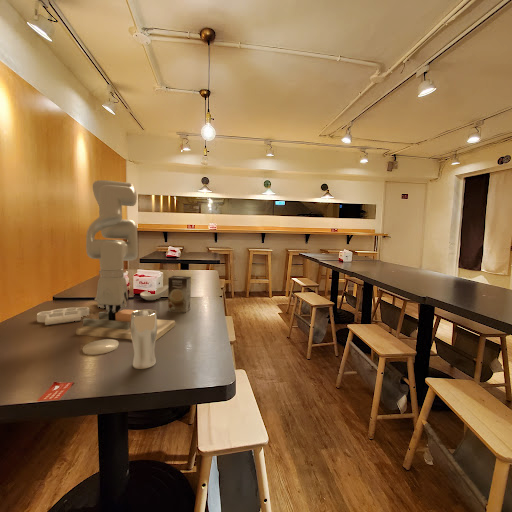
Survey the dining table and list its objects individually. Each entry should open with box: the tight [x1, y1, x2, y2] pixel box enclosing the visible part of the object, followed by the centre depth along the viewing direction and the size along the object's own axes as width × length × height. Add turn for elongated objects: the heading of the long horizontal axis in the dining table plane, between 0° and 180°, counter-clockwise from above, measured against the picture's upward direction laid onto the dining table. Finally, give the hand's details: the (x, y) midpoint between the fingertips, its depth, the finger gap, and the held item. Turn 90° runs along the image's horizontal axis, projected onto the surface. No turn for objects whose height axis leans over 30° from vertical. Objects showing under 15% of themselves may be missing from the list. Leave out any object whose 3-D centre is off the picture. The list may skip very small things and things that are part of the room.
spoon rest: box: [139, 284, 168, 301], centre depth 152 cm, size 24×12×7 cm, turn 129°
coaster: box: [82, 338, 120, 356], centre depth 87 cm, size 10×10×1 cm
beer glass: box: [130, 308, 158, 370], centre depth 76 cm, size 7×7×15 cm
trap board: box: [75, 311, 176, 341], centre depth 102 cm, size 30×16×4 cm, turn 82°
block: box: [116, 308, 138, 327], centre depth 102 cm, size 6×5×5 cm
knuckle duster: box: [36, 306, 90, 326], centre depth 113 cm, size 3×18×15 cm
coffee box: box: [167, 275, 192, 313], centre depth 128 cm, size 9×6×16 cm
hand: (113, 321), depth 103 cm, fingers closed
